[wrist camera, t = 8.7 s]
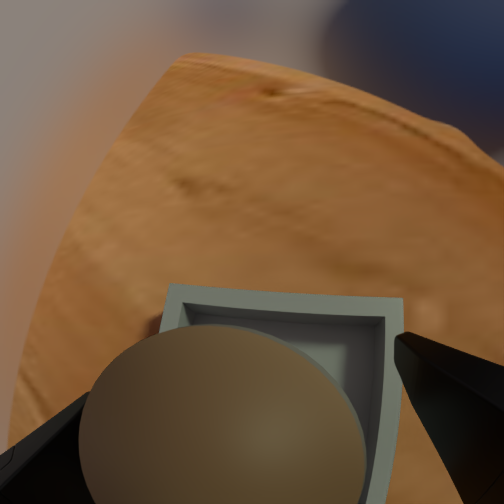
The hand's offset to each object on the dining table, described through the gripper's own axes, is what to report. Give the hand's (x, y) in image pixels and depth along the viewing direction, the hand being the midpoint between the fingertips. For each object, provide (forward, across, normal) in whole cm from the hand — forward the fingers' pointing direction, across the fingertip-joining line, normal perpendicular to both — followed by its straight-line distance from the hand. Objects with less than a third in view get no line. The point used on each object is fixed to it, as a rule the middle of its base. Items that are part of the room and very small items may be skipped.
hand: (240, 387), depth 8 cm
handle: (+5, 0, +7) cm, 8 cm away
